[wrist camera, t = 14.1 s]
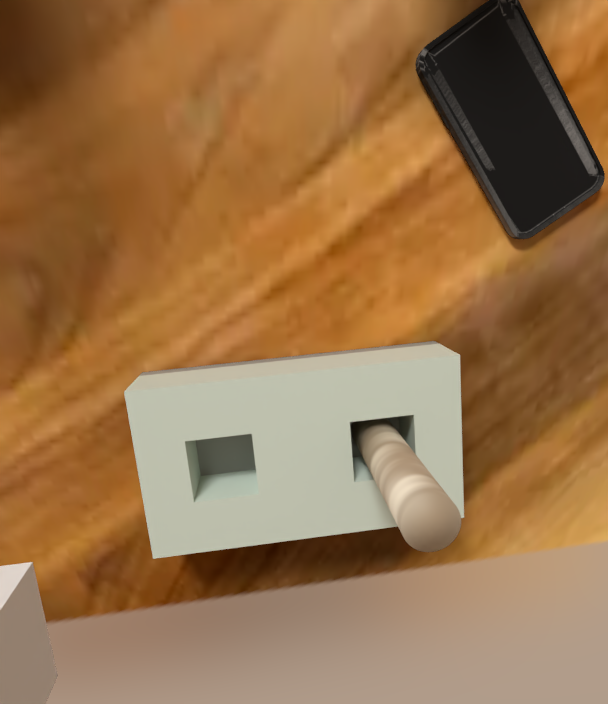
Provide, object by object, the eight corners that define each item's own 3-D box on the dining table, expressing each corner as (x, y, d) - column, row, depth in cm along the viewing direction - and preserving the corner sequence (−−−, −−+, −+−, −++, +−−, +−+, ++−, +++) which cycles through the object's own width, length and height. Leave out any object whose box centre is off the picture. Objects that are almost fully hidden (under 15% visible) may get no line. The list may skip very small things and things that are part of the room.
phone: (510, -16, 33) (610, 182, 36) (502, -7, 34) (600, 184, 37) (411, 56, 33) (518, 246, 37) (406, 62, 34) (511, 246, 38)
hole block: (166, 520, 39) (153, 558, 35) (142, 372, 37) (124, 391, 32) (439, 485, 41) (464, 517, 36) (434, 340, 38) (459, 355, 33)
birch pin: (353, 450, 38) (403, 556, 25) (349, 412, 38) (398, 500, 24) (391, 445, 39) (462, 547, 25) (388, 407, 38) (459, 491, 24)
